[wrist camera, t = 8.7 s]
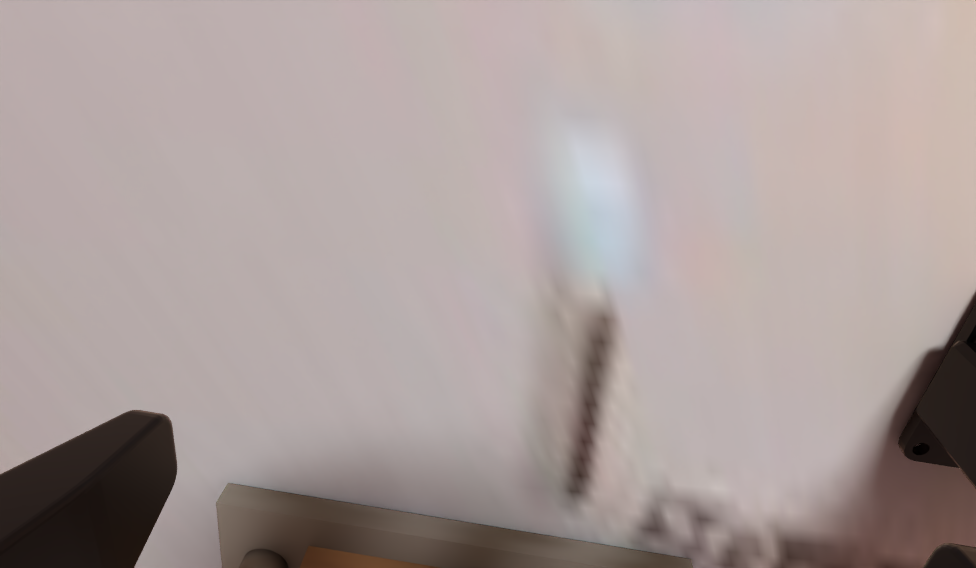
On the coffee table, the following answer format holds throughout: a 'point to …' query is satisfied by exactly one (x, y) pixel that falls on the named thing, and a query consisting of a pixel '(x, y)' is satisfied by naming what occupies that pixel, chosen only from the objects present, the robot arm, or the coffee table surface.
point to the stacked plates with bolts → (391, 539)
